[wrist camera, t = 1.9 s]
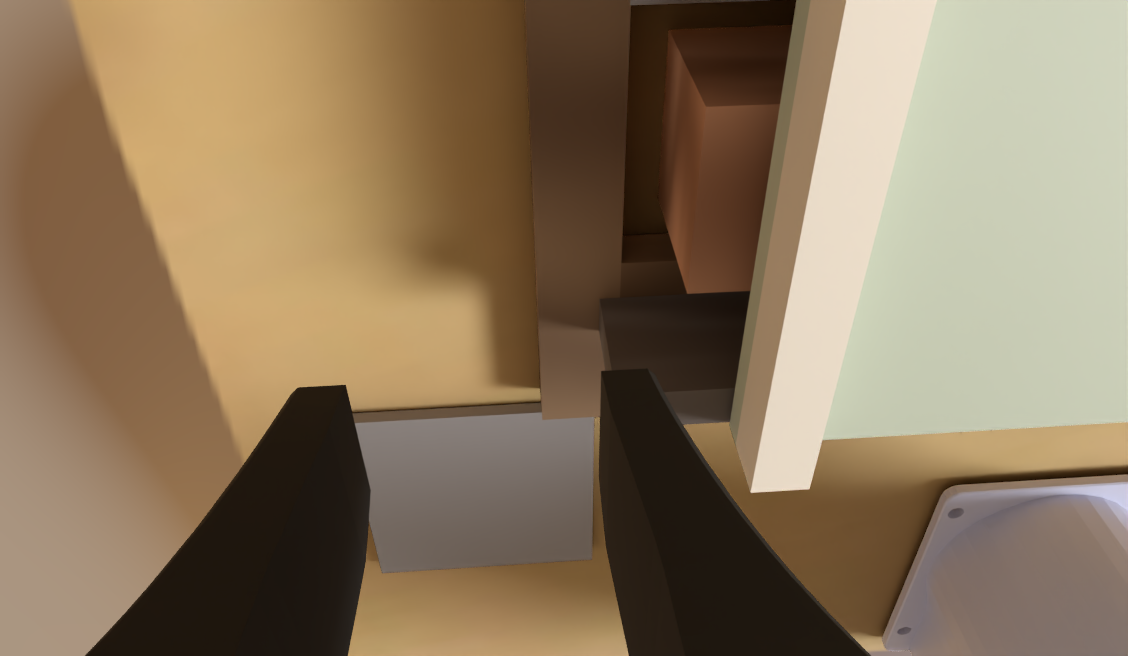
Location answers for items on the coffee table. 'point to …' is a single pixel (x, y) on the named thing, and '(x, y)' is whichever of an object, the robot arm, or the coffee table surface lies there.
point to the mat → (477, 486)
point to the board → (609, 233)
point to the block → (719, 148)
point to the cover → (939, 228)
